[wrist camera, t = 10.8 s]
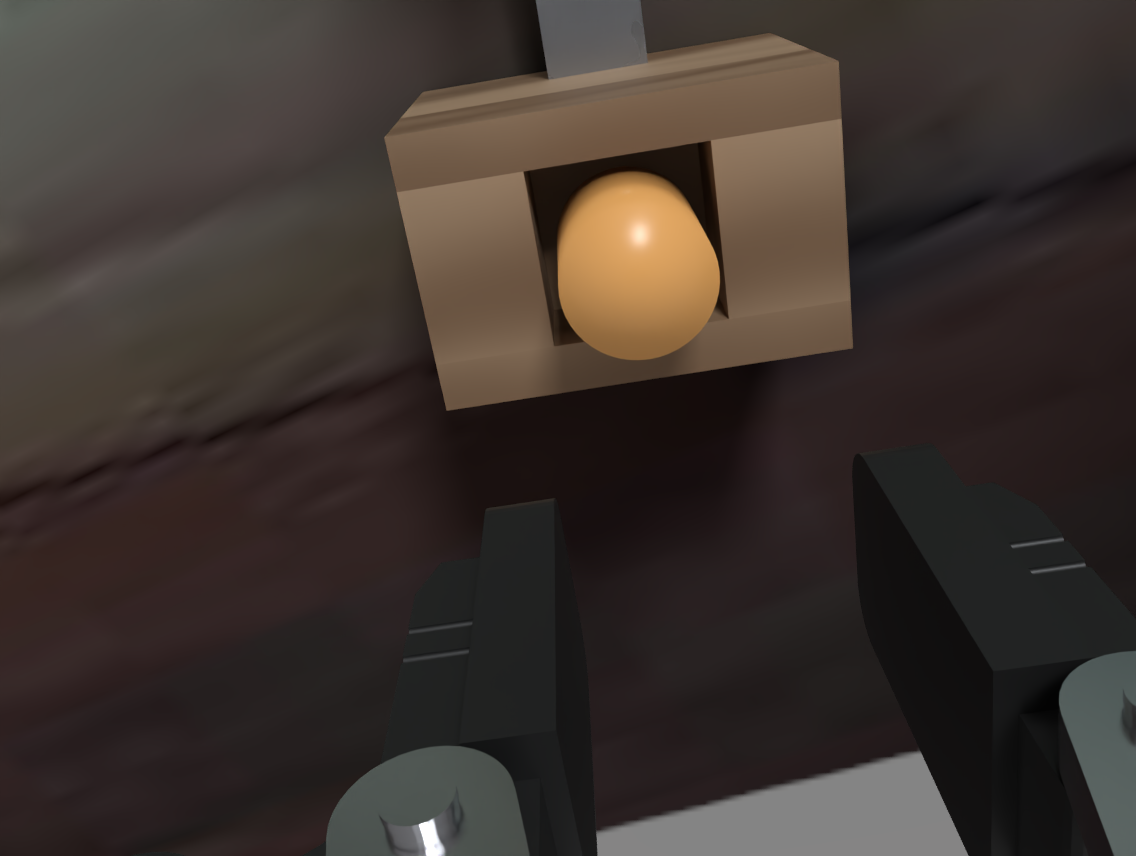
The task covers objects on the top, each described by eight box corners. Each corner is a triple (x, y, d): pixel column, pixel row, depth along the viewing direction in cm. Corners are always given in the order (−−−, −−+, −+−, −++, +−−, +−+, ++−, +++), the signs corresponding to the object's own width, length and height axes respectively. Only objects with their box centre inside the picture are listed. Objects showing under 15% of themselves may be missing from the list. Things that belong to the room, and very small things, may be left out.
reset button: (546, 178, 22) (545, 218, 19) (688, 155, 22) (711, 191, 19) (568, 312, 23) (572, 371, 20) (702, 291, 23) (727, 347, 20)
